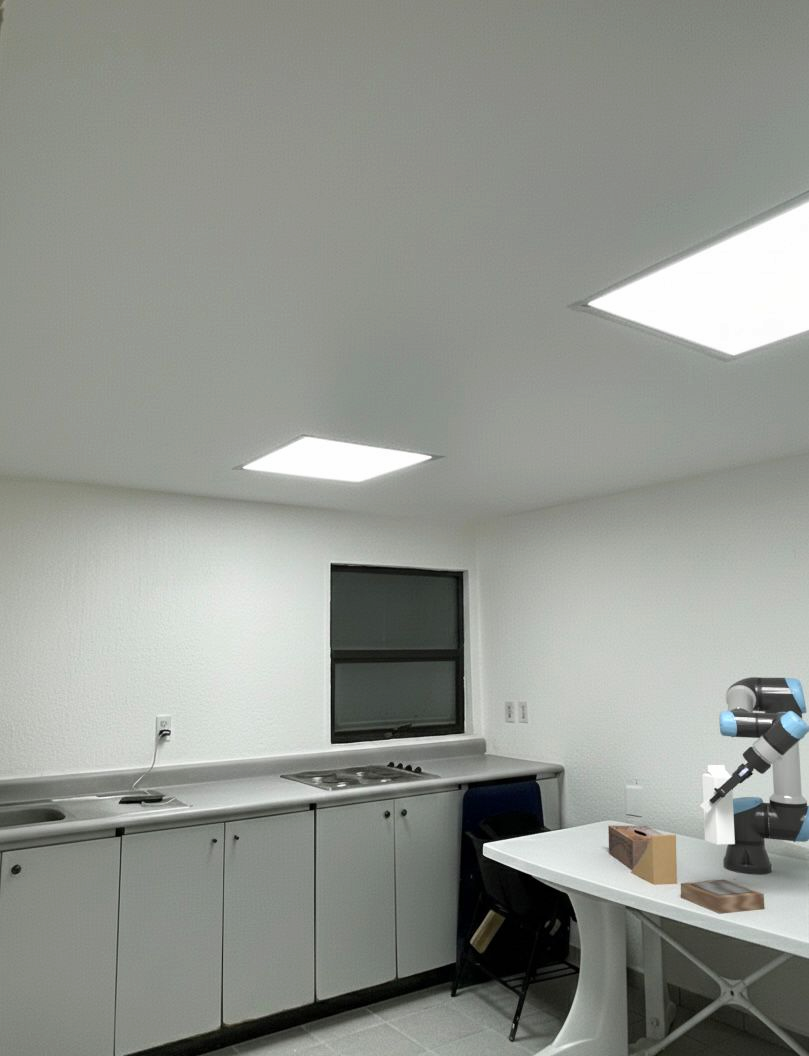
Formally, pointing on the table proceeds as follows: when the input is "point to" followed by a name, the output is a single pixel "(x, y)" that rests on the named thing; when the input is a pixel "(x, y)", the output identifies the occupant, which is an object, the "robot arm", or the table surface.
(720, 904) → the walnut plinth
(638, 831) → the tissue box cover
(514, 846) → the table surface
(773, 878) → the table surface
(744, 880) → the table surface
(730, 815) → the milk
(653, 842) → the sandwich container
